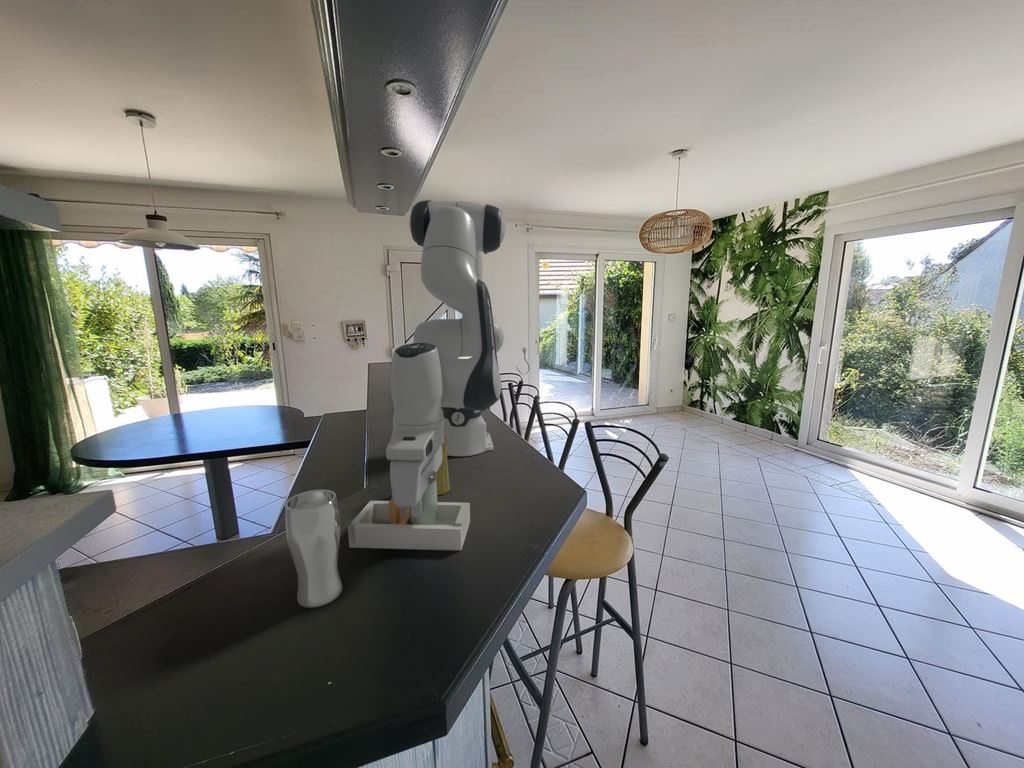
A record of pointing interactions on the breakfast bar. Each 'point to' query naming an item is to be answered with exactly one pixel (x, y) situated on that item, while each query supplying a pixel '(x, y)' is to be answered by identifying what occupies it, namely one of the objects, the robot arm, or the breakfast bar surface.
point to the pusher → (393, 516)
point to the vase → (443, 471)
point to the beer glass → (314, 545)
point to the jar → (427, 505)
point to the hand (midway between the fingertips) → (422, 506)
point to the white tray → (410, 529)
